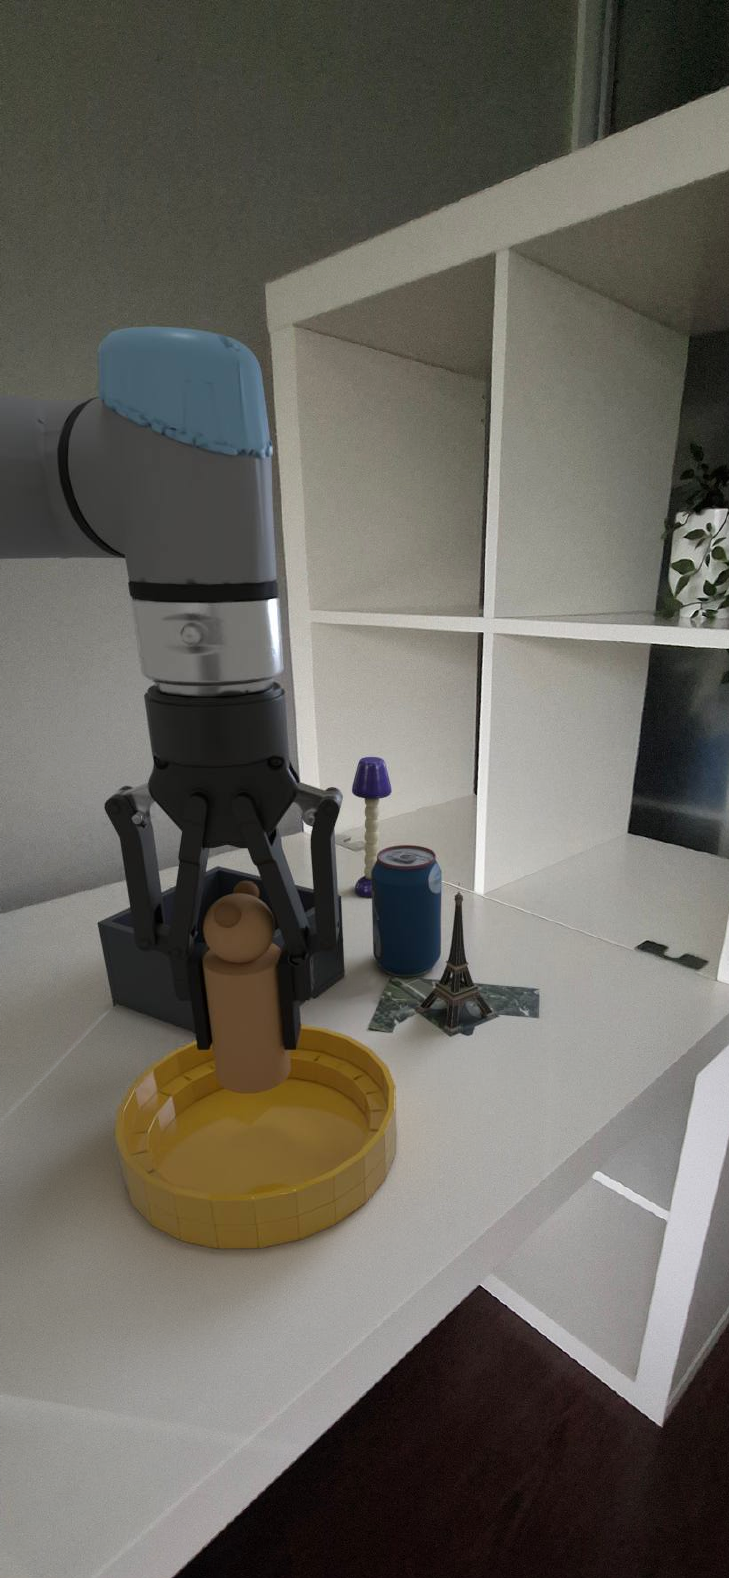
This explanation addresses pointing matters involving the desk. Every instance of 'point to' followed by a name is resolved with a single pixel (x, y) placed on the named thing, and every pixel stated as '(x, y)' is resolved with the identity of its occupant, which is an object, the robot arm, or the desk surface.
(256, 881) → the bin
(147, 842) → the robot arm
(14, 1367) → the desk surface
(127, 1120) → the bowl
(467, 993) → the eiffel tower figurine
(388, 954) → the soda can
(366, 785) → the toy lamp
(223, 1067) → the toy bear
